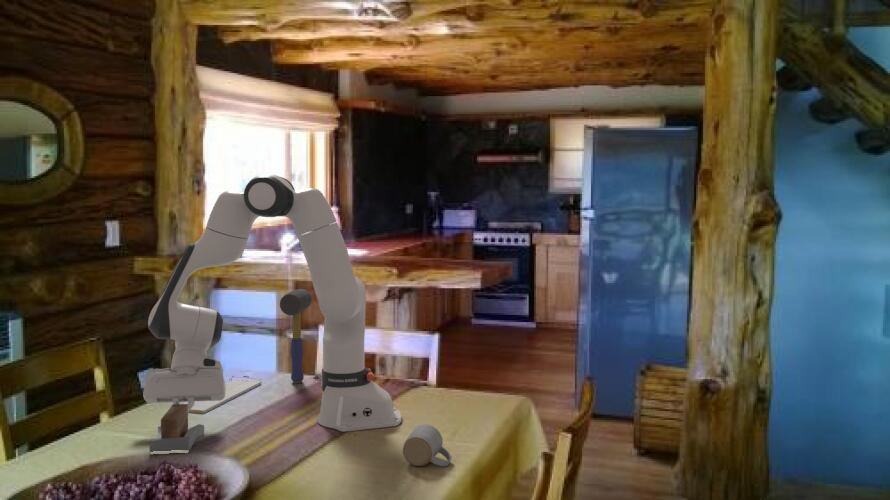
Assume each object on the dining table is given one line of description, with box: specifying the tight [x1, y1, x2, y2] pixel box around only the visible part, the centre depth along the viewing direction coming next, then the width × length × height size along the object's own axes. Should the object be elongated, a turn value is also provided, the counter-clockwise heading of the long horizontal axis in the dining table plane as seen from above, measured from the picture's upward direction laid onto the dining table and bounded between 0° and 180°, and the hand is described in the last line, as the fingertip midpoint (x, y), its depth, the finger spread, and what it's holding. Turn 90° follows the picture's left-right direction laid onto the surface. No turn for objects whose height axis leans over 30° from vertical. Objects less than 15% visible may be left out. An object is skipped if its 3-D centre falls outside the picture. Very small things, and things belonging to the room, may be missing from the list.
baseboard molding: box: [183, 375, 262, 414], centre depth 218 cm, size 31×3×12 cm
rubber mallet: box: [279, 288, 313, 384], centre depth 232 cm, size 12×8×30 cm, turn 172°
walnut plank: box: [160, 403, 189, 438], centre depth 178 cm, size 4×12×8 cm, turn 8°
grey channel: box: [149, 423, 205, 453], centre depth 178 cm, size 11×14×4 cm
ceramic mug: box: [402, 423, 453, 467], centre depth 166 cm, size 11×8×8 cm
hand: (181, 415), depth 185 cm, fingers closed, pressing on walnut plank
